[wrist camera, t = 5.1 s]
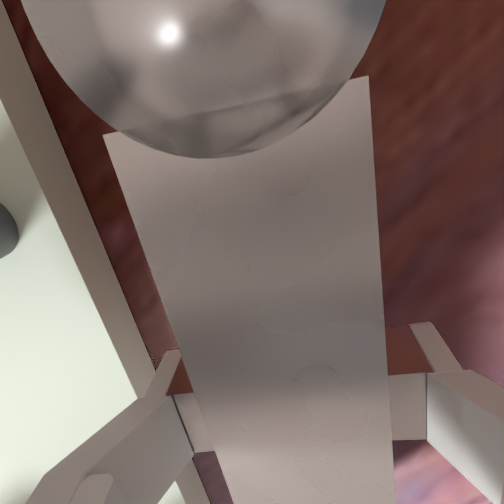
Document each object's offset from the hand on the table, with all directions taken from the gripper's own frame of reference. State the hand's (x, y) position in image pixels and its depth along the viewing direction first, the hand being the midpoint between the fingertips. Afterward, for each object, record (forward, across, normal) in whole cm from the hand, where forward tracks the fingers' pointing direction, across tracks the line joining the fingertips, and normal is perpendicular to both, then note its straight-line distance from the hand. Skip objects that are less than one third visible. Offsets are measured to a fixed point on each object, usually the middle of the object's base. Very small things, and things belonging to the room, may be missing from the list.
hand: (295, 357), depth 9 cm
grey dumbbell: (+2, 0, 0) cm, 2 cm away
